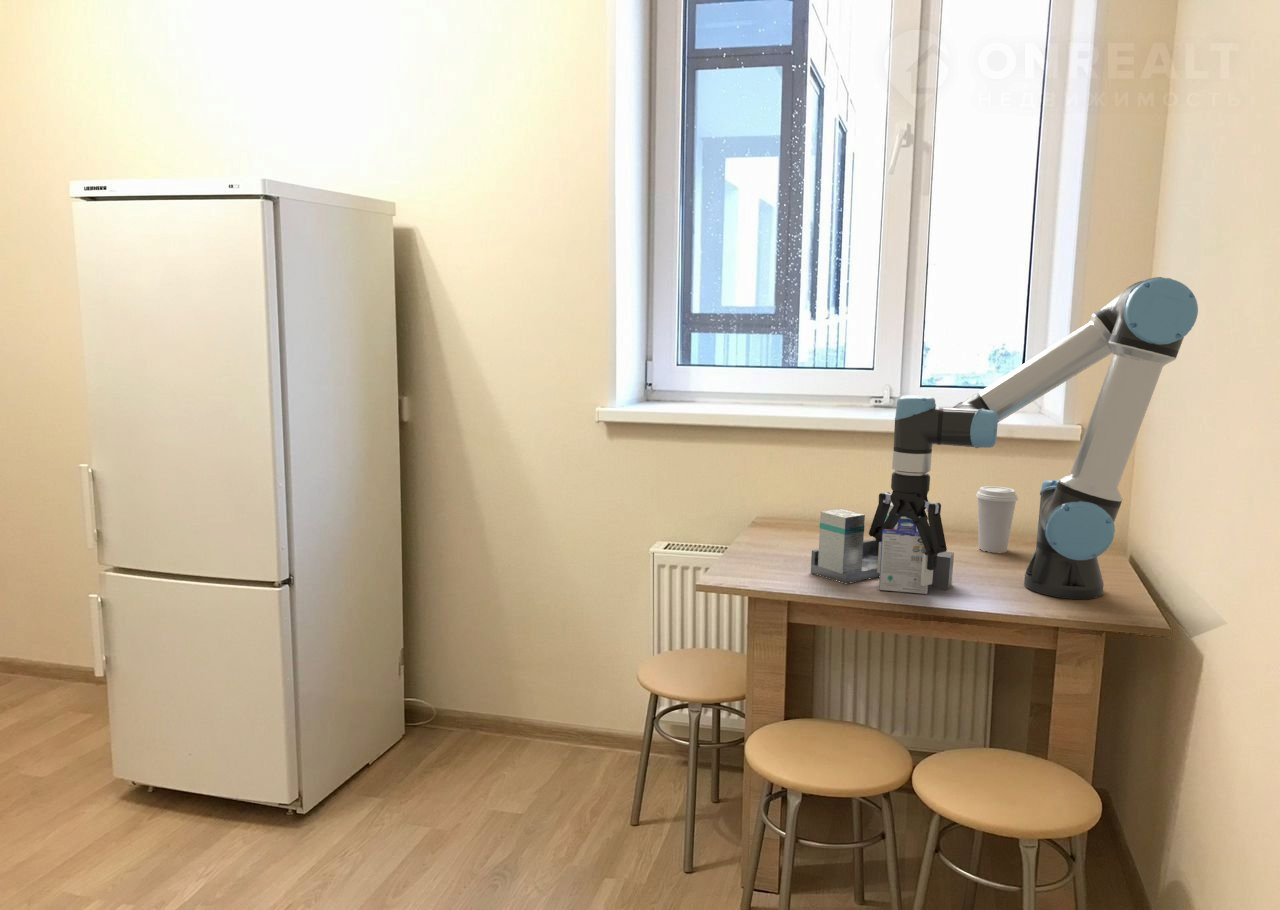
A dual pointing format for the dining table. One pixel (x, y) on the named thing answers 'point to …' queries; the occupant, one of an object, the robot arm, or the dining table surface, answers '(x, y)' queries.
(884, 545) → the ink cartridge box
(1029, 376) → the robot arm
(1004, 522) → the coffee cup
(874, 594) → the dining table surface
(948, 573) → the block
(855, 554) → the grey stand with boxes
